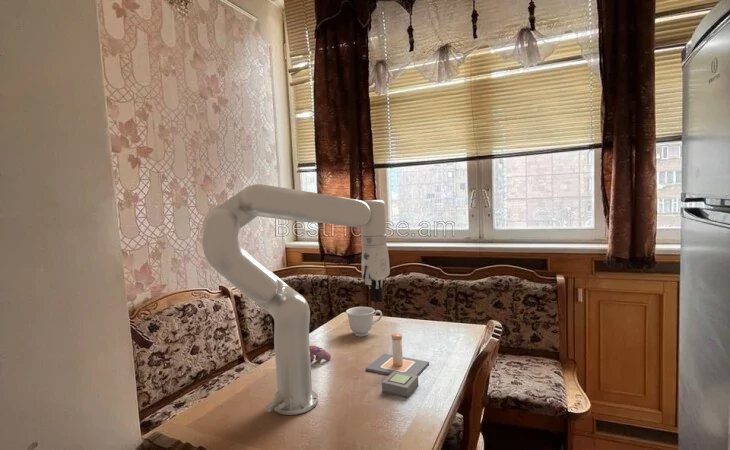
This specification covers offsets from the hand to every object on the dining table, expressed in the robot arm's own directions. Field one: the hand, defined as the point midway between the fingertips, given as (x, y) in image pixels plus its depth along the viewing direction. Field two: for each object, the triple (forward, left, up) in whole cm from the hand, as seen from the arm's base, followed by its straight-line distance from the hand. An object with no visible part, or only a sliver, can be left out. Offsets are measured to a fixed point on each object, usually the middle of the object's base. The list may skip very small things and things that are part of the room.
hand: (376, 300), depth 120 cm
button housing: (-2, -8, -25) cm, 26 cm away
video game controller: (+4, +27, -25) cm, 38 cm away
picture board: (+11, -1, -25) cm, 27 cm away
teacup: (+34, +25, -25) cm, 49 cm away
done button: (-2, -8, -24) cm, 25 cm away
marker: (+11, -1, -24) cm, 27 cm away
